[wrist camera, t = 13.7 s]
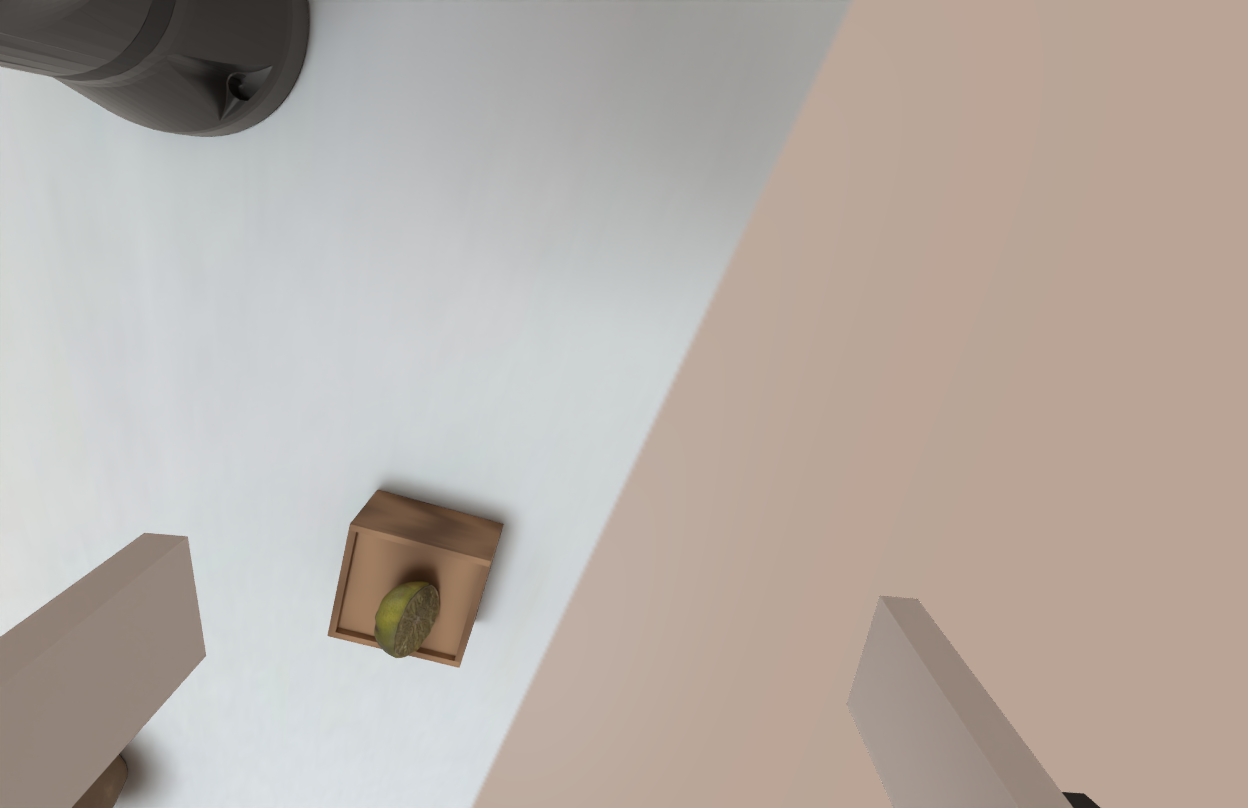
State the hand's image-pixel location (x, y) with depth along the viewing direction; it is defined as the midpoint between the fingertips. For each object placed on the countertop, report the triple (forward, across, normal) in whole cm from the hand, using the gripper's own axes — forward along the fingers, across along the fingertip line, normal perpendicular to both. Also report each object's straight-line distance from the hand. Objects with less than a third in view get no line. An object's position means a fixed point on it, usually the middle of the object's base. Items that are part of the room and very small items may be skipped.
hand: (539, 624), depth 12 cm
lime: (+27, -11, -22) cm, 36 cm away
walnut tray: (+32, -12, -21) cm, 40 cm away
